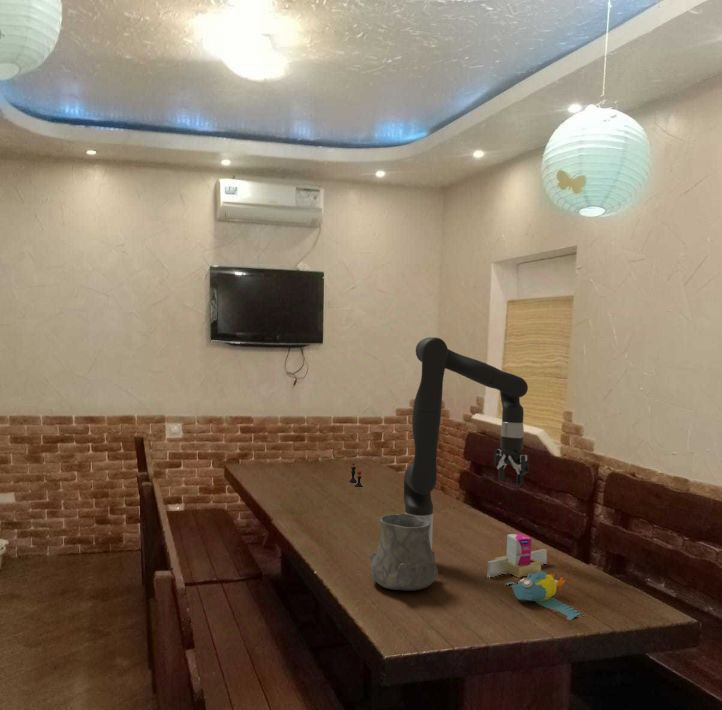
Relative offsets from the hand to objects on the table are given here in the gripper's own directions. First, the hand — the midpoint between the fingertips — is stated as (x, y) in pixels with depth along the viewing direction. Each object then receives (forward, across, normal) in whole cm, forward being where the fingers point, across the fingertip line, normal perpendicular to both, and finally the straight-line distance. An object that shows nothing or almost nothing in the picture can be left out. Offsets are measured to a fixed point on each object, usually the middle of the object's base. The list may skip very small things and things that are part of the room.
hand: (510, 482), depth 218 cm
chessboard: (+28, -122, +16) cm, 126 cm away
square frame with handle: (+27, +9, -4) cm, 28 cm away
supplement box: (+27, +9, -4) cm, 29 cm away
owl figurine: (+28, +29, -16) cm, 43 cm away
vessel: (+27, +1, -45) cm, 53 cm away
